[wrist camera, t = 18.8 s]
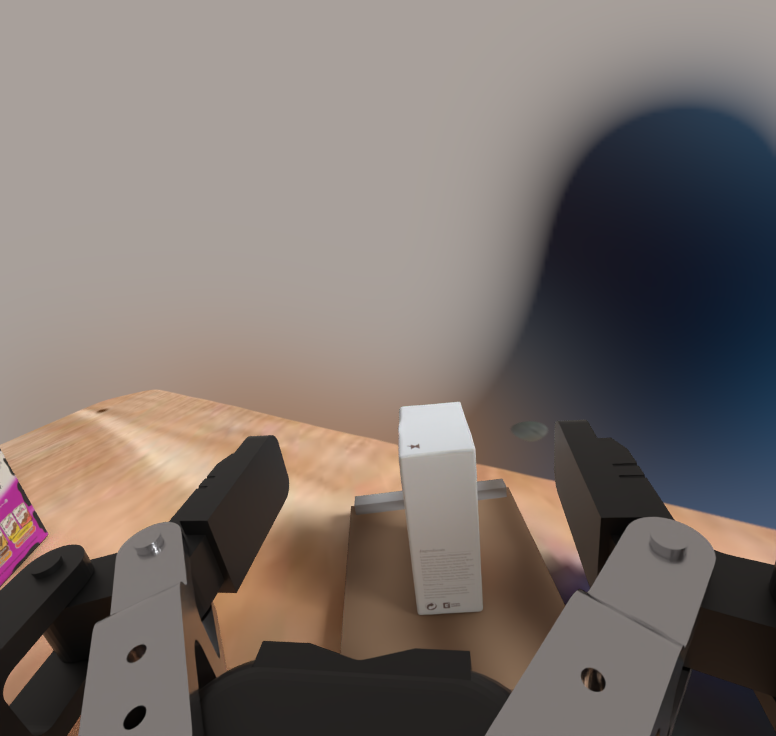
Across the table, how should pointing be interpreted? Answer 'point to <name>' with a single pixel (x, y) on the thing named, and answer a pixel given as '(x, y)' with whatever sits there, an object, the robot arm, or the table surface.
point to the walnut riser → (450, 630)
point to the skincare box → (441, 507)
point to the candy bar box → (16, 523)
